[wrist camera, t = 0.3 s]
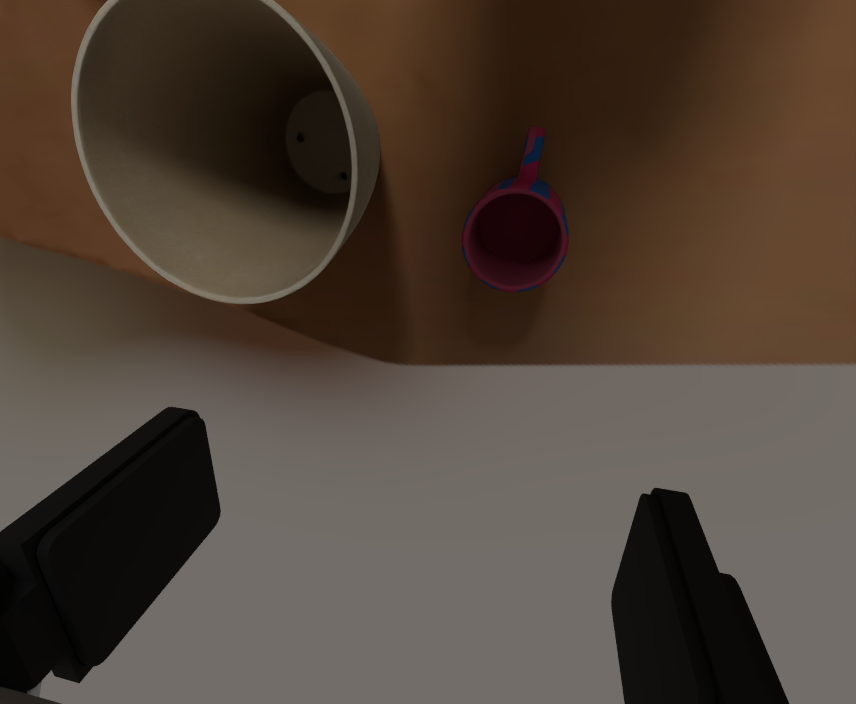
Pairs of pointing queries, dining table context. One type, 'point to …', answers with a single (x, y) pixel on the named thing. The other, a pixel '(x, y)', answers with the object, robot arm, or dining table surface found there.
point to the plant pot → (222, 143)
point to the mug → (517, 228)
